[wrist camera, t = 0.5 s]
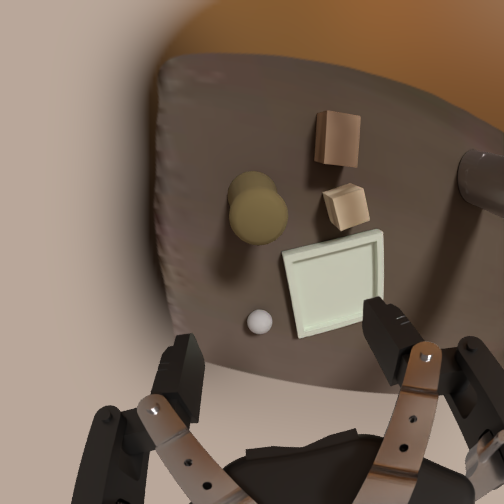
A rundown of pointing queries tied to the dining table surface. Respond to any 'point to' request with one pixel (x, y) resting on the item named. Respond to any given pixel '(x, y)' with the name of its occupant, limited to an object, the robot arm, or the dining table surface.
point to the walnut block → (337, 138)
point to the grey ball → (259, 321)
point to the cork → (256, 209)
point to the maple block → (346, 206)
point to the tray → (334, 280)
